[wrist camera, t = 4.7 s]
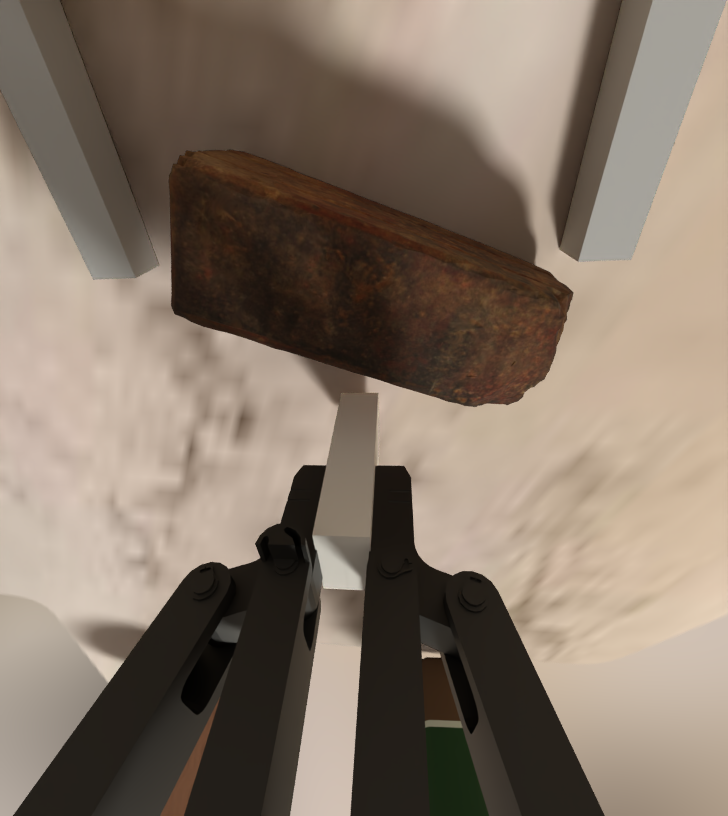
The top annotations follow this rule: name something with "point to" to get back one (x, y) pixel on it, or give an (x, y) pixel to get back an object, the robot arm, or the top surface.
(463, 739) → the beer bottle
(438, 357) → the brick
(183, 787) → the coffee cup
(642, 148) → the rails
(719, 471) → the top surface
